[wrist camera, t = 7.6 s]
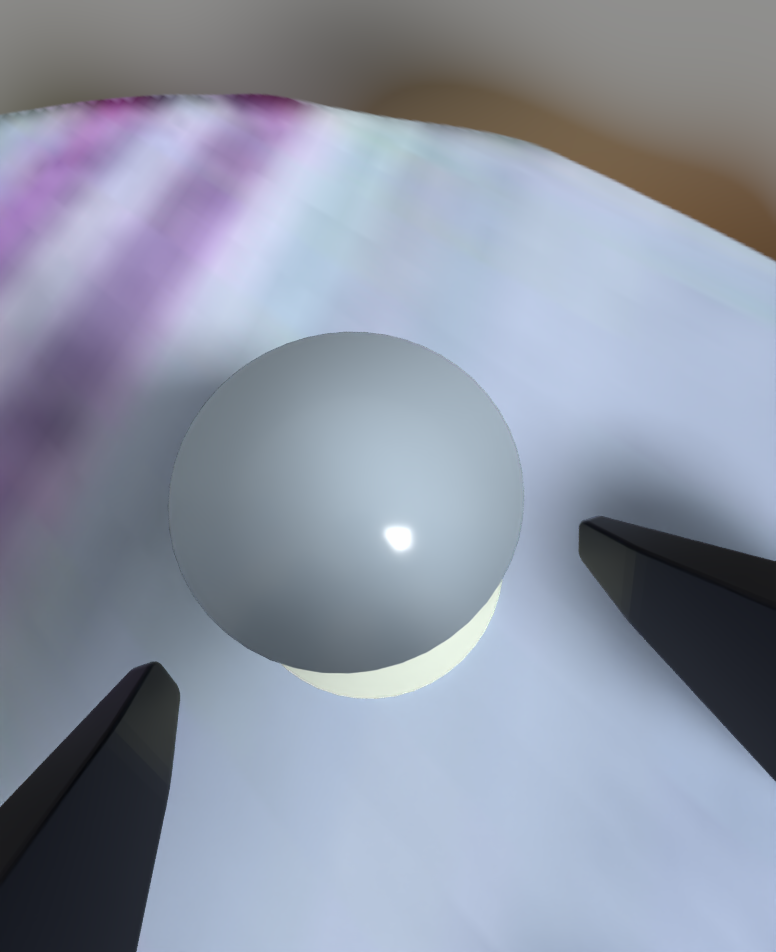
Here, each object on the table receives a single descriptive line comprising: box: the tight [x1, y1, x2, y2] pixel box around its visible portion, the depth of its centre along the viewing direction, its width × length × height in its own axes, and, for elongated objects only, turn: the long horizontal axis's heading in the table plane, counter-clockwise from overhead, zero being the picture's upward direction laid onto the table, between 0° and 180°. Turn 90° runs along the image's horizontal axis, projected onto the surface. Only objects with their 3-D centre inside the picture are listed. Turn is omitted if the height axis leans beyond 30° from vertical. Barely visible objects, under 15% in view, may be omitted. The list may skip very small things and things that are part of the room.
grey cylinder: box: [168, 332, 524, 674], centre depth 10 cm, size 6×6×10 cm
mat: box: [280, 581, 502, 699], centre depth 15 cm, size 11×11×1 cm
